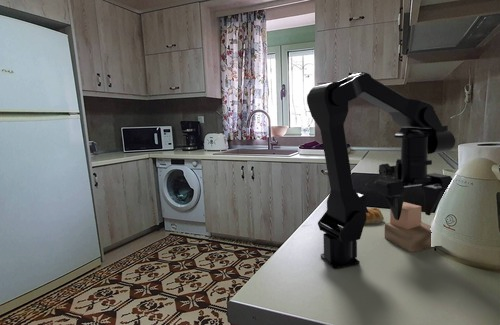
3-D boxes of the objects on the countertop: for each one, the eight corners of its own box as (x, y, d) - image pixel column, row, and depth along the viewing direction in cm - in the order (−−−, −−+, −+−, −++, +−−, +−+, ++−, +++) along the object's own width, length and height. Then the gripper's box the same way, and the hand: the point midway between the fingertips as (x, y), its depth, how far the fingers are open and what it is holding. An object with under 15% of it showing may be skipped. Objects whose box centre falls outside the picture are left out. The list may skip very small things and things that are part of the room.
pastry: (360, 227, 86) (360, 214, 86) (346, 220, 93) (345, 209, 92) (385, 222, 89) (385, 210, 89) (370, 216, 96) (370, 204, 95)
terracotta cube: (407, 229, 72) (408, 210, 72) (390, 223, 77) (390, 205, 76) (420, 225, 74) (421, 206, 74) (403, 219, 79) (403, 201, 78)
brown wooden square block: (410, 252, 69) (411, 235, 69) (384, 237, 78) (384, 223, 77) (441, 246, 71) (442, 230, 71) (413, 232, 80) (413, 218, 79)
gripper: (419, 149, 81) (418, 204, 83) (360, 155, 77) (360, 212, 79) (456, 153, 70) (453, 216, 73) (389, 160, 66) (389, 226, 68)
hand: (412, 217), depth 74 cm, fingers open, 9 cm apart
